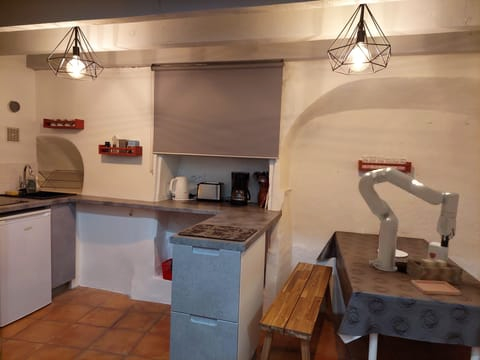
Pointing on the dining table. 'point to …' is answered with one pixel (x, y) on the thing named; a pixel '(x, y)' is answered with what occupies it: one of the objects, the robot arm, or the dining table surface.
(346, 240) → the dining table surface
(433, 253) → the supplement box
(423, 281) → the terracotta tray
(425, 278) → the walnut pocket jig
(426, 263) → the maple block
